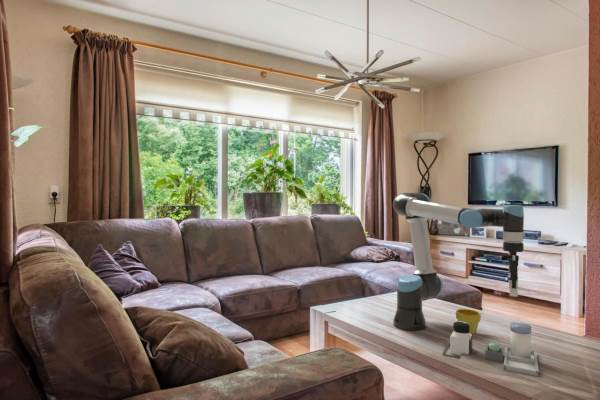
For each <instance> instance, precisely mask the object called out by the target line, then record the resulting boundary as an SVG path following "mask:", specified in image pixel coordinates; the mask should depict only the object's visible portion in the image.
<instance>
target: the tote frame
mask: <svg viewBox="0 0 600 400" xmlns="http://www.w3.org/2000/svg"><path fill="white" fill-rule="evenodd" d="M449 347H450V343H447V344H446V345H445V348H444V349H443V352H442V356H446V357H450V358H456V359H461V356H459V355H454V354H451V355H450V354H447V353H446V352H447V350H448V348H449Z"/></svg>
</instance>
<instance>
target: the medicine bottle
mask: <svg viewBox="0 0 600 400" xmlns="http://www.w3.org/2000/svg"><path fill="white" fill-rule="evenodd" d="M452 326H453V327H452V331H453V332H452V333H451V334H450V338H449V339H450V340H449V344H450V345H449V350H450V351H449V353H450V354H451V355H454V356H459V357H461V356H462V354H465V355H466V354H467V355H470V354H471V352H472V350H473V333H470V325H469V324H468V323H466V322H461V321H458V320H457V321H454V322H453V324H452Z"/></svg>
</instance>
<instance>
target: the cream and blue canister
mask: <svg viewBox="0 0 600 400" xmlns="http://www.w3.org/2000/svg"><path fill="white" fill-rule="evenodd" d="M509 325H510V326H509V328H510V329H509V330H510V334H509V335H510V336H509V337H510V342H509V343H510V344H509V345H510V346H509V347H510V356H514V357H520V358H526V359H531V350H532V326H531V325H529V324H528V323H523V322H511V323H509Z"/></svg>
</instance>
